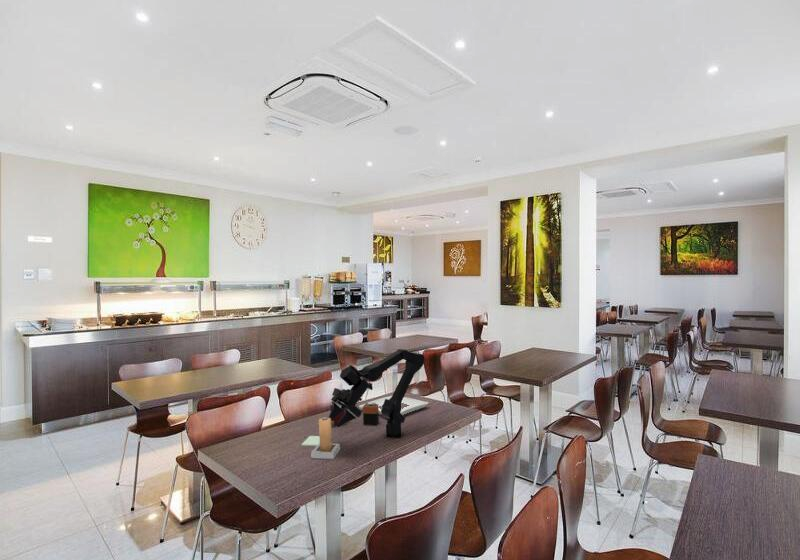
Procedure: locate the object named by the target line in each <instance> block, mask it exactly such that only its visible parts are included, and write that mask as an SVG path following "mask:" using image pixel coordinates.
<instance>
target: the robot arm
mask: <svg viewBox="0 0 800 560" xmlns="http://www.w3.org/2000/svg"><path fill="white" fill-rule="evenodd" d="M402 360H404V361H405V363H404V364H405V365H404V367H405V368H404V370H403V372H402V375H401V377H400V380H399V382H398V383H397V384H396V385H397V386H396V387H395V390H394V392H393V394H392V395H391V396H392V397H391V398H390V399H389V400H388V399H385V401H384V404H383V405H382V406H381V407H382V409H381V412H382V415H381V416H382V417H383V418H384V420H385V421H386V424H385V434H386V437H387V438H402V436H403V433H404V431H403V423H404V422H405V420H406V417H405V415H402V414H401V413H400V412H401V402H402V400H403V398H404V397H405V395H406V394H407V391H408V389H409V387H410V384H411V382H412V381H413V379H414V377H415V375H416V373H417V372H418V371H420V370H421V369H422V367H423V365H424V364H425V361H426V359H425V356H424V354H423V353H419V352H418V353H417V352H415V351H413V352H412V351H408V350H407V349H404V348H399V349H397V350H396V351H394V352H393V353H391V354H390V355H389V354H388V356H386V357H384V358H383V359H382V360H379V361H378V362H375V363H371V364H368V365H365V366H364V367H362V369H359V370H357V369H356V368H355V366H354V365H352V364H350V365H349V366H347V367H345V368H344V369H342V371H341V372H340V374H339V378H341V380H343V381H344V382H345V383H346V384H347V385H348V386H350V387H351V388H350V389H344V388H342V389H340V388H336V387H334V389H333V392H332V394H331V396H332V398H330V401H331V402H330V404H331V403H332V410H331V409H330V413H329V415H328V418H331V420H332V419H334V418H335V417H336V416H337V415H338V414H340V413H341V412H342V411H343V410H342V409H344V414H343V416H342V417H341V419H340V421H339V422H338V424H337V425H336V427H337V428H341V427H342V426H344V425H346V424H347V423H349V422H352V421H353V420H355V419H359V418H360V417H361V416H362V409H361V408H358V406H356V405H357V404H358V403H359V402H361V401H362V397H363V396H364V395H365V393H366V392H367V390H371V391H372V390H373V383H371V382H375V381H377V380H378V379H380V377H382V375H383V373H384V372H385V371H387V370H389V369H390V368H392V367H393V366H395V365H396V364H398V363H399V362H401V361H402ZM362 378H363V379H362ZM368 381H369V382H368ZM341 408H342V409H341ZM345 408H346V409H345Z"/></svg>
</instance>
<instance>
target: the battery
mask: <svg viewBox="0 0 800 560" xmlns="http://www.w3.org/2000/svg"><path fill="white" fill-rule="evenodd" d="M364 404H365V403H364ZM362 416H363V417H362V420H363V425H364V426H378V424H379V423H380V414H379V409H378V404H376V403H372V404H369V403H368V402H366V404H365V405H364V406H363V409H362Z"/></svg>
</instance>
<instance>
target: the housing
mask: <svg viewBox="0 0 800 560" xmlns="http://www.w3.org/2000/svg"><path fill="white" fill-rule="evenodd" d="M340 450H341V444H340V443H332V451H320V443H319V444H318V445H317V446H314V449H313V450H311V453H310V454H311V456H310V457H311V459H324V460H326V459H327V460H334V459H335V458H336V456H337V455H338V453H339V452H340Z"/></svg>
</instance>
